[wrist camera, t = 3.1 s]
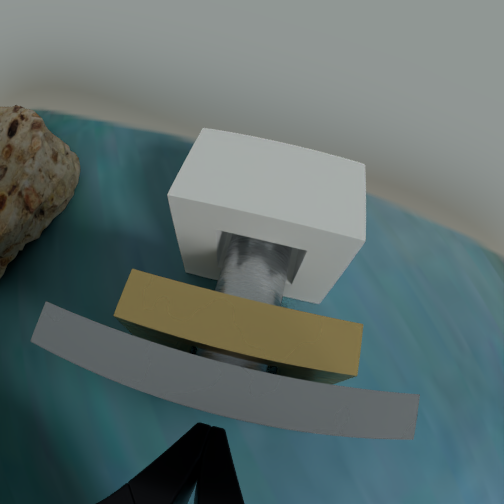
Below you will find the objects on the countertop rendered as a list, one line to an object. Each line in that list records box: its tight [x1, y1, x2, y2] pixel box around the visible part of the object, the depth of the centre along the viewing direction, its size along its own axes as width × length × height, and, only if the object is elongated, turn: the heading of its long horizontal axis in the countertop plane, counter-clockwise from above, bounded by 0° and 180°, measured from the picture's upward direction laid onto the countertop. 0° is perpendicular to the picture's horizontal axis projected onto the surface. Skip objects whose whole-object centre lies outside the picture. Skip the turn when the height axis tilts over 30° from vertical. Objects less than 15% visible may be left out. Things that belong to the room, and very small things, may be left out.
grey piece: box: [31, 233, 420, 439], centre depth 12 cm, size 9×10×9 cm
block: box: [167, 128, 366, 304], centre depth 16 cm, size 4×8×7 cm, turn 77°
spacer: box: [113, 269, 363, 385], centre depth 13 cm, size 2×9×6 cm, turn 77°
